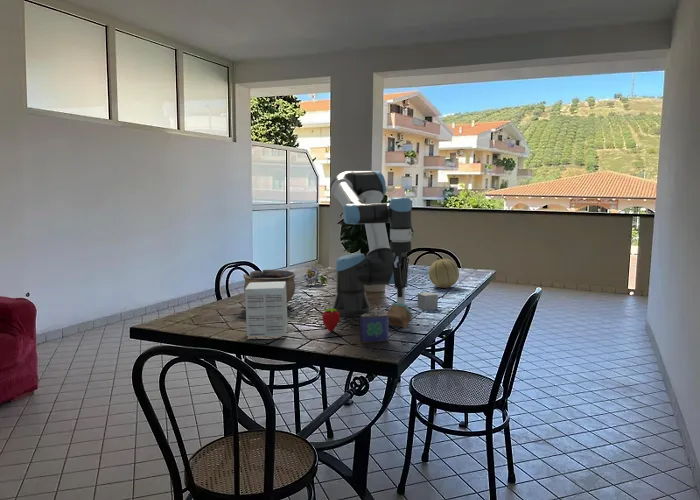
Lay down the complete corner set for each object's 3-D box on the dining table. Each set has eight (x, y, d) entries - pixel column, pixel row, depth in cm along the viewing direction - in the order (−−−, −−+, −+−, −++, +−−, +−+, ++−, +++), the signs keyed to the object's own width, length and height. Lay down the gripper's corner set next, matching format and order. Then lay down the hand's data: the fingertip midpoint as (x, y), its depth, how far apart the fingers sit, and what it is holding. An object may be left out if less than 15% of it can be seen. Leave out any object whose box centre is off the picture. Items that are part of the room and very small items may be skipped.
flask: (388, 340, 167) (387, 308, 166) (389, 342, 164) (389, 310, 163) (360, 341, 166) (359, 309, 165) (361, 344, 164) (360, 311, 162)
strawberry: (344, 330, 180) (343, 302, 179) (334, 335, 173) (333, 307, 172) (329, 328, 183) (328, 301, 181) (318, 334, 176) (318, 305, 175)
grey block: (424, 310, 208) (424, 295, 207) (417, 307, 214) (417, 293, 213) (437, 308, 210) (437, 294, 209) (430, 305, 216) (430, 291, 215)
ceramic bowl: (268, 300, 233) (266, 267, 231) (306, 305, 222) (305, 270, 220) (233, 310, 214) (232, 275, 213) (274, 316, 203) (272, 278, 201)
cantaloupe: (459, 290, 246) (459, 260, 244) (428, 290, 248) (428, 259, 247) (458, 285, 260) (458, 256, 259) (429, 284, 263) (428, 256, 261)
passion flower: (310, 296, 267) (297, 278, 267) (320, 288, 277) (306, 271, 277) (325, 285, 262) (311, 267, 262) (334, 278, 271) (320, 260, 271)
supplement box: (251, 330, 183) (249, 282, 181) (288, 328, 184) (286, 280, 182) (246, 340, 170) (243, 289, 168) (286, 339, 171) (284, 287, 169)
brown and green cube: (412, 315, 185) (405, 328, 182) (399, 313, 189) (391, 325, 186) (406, 304, 182) (399, 317, 179) (393, 302, 186) (385, 315, 183)
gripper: (405, 242, 176) (405, 310, 178) (415, 239, 187) (416, 302, 190) (384, 242, 179) (385, 308, 181) (396, 239, 190) (396, 301, 193)
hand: (401, 305), depth 186 cm, fingers closed
